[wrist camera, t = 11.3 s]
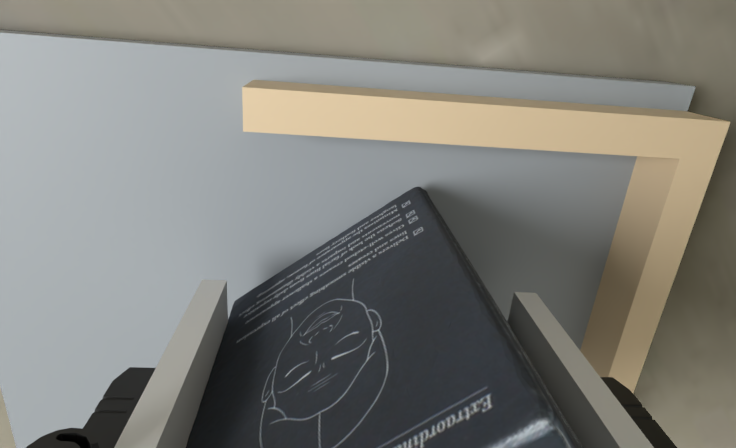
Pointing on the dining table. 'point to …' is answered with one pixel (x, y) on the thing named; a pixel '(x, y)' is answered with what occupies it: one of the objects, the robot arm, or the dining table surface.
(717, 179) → the dining table surface
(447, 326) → the box
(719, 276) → the dining table surface
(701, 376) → the dining table surface
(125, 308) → the dock
